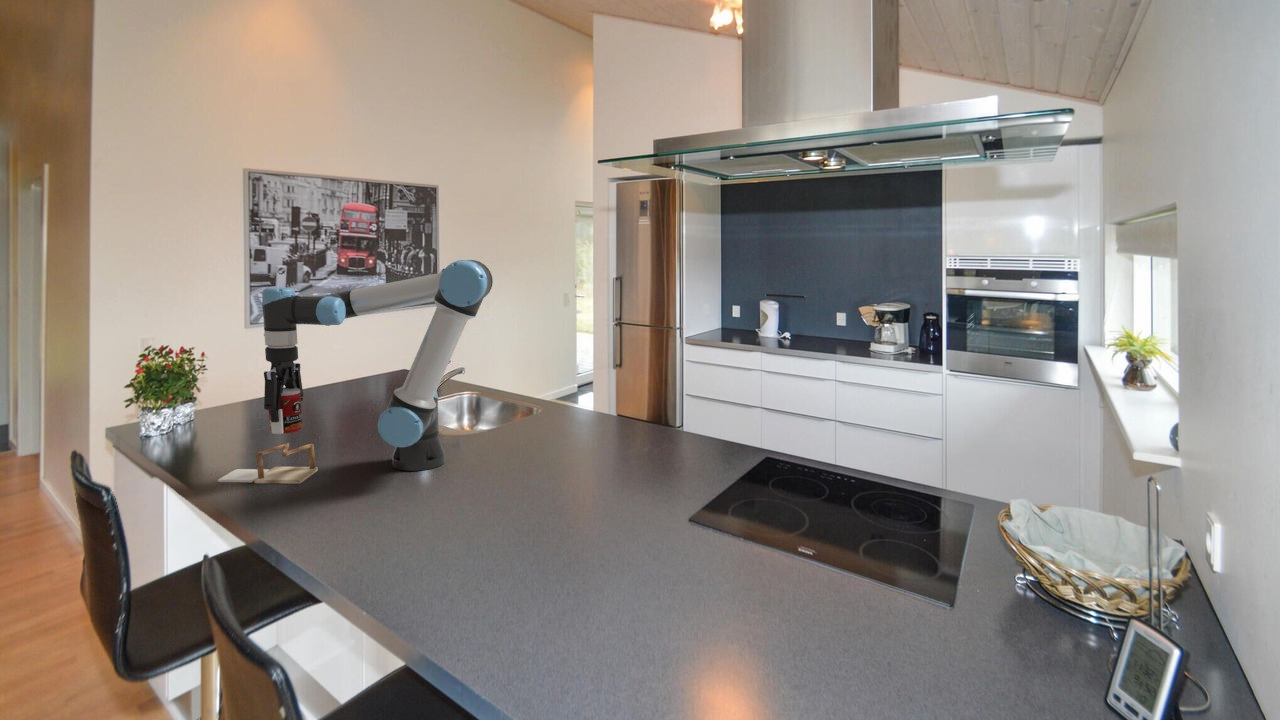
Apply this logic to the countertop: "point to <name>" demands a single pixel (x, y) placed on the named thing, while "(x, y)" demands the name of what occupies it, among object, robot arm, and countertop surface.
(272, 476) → the wooden zigzag stand
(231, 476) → the coaster
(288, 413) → the canned food
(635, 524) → the countertop surface
